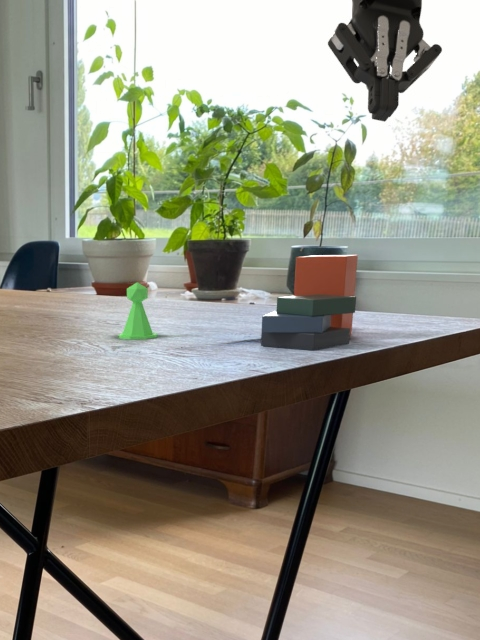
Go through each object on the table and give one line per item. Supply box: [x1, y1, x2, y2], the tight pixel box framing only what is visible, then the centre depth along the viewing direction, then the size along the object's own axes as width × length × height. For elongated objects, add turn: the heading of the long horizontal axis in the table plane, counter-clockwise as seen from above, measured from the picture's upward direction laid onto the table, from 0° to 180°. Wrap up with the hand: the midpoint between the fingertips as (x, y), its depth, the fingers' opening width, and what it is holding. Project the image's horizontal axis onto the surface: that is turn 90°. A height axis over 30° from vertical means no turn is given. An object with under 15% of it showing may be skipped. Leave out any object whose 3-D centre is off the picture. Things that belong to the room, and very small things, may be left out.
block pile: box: [260, 294, 357, 351], centre depth 80 cm, size 8×8×4 cm
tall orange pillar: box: [293, 254, 359, 336], centre depth 85 cm, size 5×5×8 cm
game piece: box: [118, 281, 158, 340], centre depth 86 cm, size 4×4×6 cm
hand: (383, 115), depth 90 cm, fingers closed
